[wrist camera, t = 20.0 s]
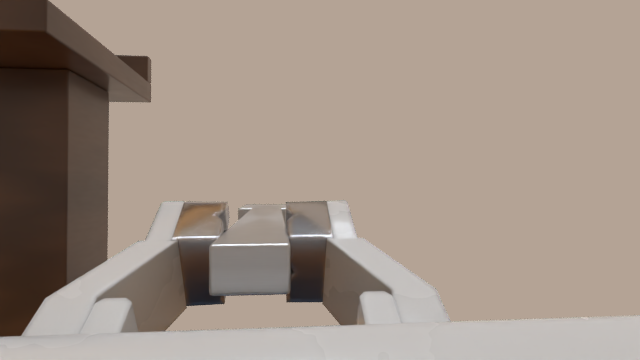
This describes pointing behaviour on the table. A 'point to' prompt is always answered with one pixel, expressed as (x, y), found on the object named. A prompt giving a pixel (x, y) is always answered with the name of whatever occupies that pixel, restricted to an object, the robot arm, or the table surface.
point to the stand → (54, 152)
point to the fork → (252, 254)
